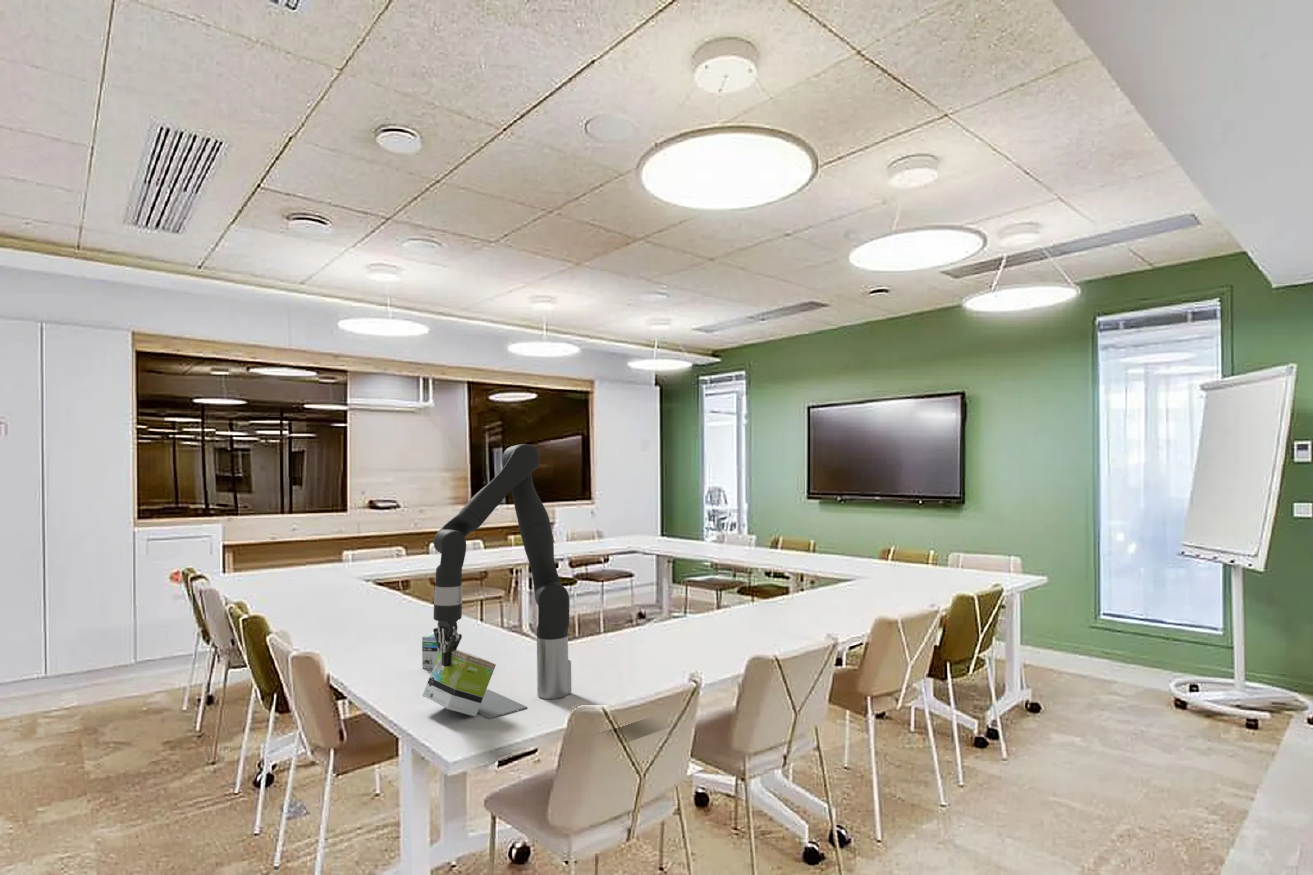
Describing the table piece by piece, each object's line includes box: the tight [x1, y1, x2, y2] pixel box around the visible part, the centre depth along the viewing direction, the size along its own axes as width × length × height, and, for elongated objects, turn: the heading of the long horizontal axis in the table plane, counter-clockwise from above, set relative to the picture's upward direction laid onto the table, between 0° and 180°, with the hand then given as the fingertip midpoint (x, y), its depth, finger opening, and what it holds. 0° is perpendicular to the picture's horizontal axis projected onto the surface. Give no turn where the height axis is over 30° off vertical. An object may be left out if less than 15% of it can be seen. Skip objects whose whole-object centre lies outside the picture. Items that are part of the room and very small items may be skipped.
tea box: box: [422, 649, 497, 717], centre depth 202 cm, size 15×10×15 cm, turn 45°
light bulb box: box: [421, 631, 441, 670], centre depth 250 cm, size 11×7×11 cm, turn 168°
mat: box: [477, 688, 528, 720], centre depth 208 cm, size 12×22×1 cm, turn 42°
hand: (446, 665), depth 200 cm, fingers closed
